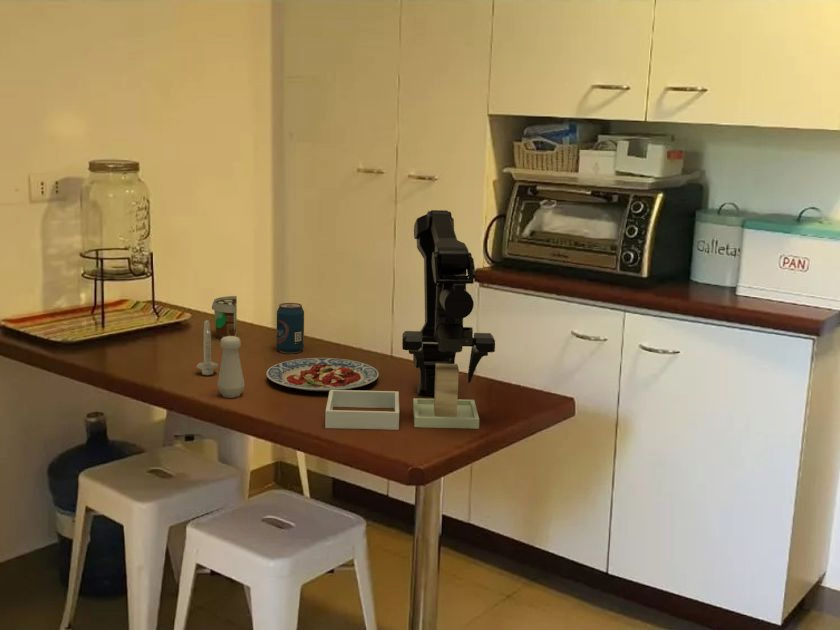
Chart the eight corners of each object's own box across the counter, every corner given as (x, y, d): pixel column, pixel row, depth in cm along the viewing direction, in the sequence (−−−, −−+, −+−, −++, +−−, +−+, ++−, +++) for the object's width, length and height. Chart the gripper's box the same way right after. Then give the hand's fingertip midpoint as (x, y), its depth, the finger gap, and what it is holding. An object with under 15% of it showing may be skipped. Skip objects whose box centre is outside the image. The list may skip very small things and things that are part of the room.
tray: (413, 407, 215) (413, 398, 215) (473, 408, 215) (474, 399, 215) (414, 427, 202) (414, 417, 202) (478, 428, 203) (479, 419, 202)
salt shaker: (246, 391, 222) (246, 334, 219) (243, 399, 216) (242, 340, 213) (219, 390, 222) (219, 333, 219) (215, 398, 216) (214, 340, 213)
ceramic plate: (310, 360, 250) (310, 349, 249) (399, 378, 237) (399, 366, 236) (242, 384, 228) (242, 372, 227) (336, 405, 215) (337, 392, 215)
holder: (329, 405, 214) (329, 389, 213) (398, 407, 215) (398, 391, 214) (325, 428, 200) (325, 411, 199) (398, 429, 200) (399, 413, 200)
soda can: (271, 349, 257) (271, 304, 255) (293, 346, 262) (293, 301, 259) (286, 355, 253) (287, 309, 250) (309, 351, 257) (309, 305, 254)
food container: (214, 331, 275) (213, 295, 273) (236, 331, 276) (236, 295, 273) (209, 342, 263) (209, 305, 261) (233, 342, 264) (233, 305, 261)
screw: (216, 370, 237) (219, 376, 233) (195, 371, 236) (197, 377, 231) (216, 316, 234) (218, 321, 230) (195, 317, 233) (197, 322, 228)
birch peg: (433, 409, 211) (435, 363, 209) (455, 409, 211) (457, 364, 209) (434, 416, 206) (436, 369, 204) (456, 416, 207) (458, 369, 204)
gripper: (404, 315, 196) (401, 392, 199) (499, 318, 196) (495, 394, 200) (403, 303, 206) (401, 376, 210) (494, 306, 207) (490, 379, 210)
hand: (446, 382), depth 207 cm, fingers open, 9 cm apart
